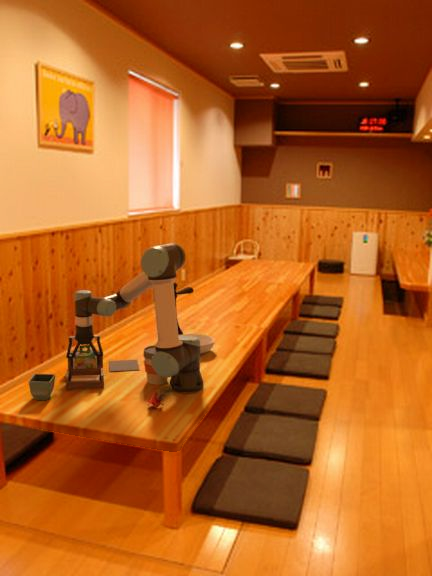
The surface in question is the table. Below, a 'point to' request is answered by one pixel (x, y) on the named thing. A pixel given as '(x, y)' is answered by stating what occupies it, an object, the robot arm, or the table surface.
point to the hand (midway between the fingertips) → (85, 371)
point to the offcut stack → (85, 378)
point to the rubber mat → (123, 365)
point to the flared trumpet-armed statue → (183, 291)
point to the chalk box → (85, 358)
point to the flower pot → (42, 386)
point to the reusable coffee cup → (151, 374)
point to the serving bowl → (203, 342)
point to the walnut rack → (89, 371)
